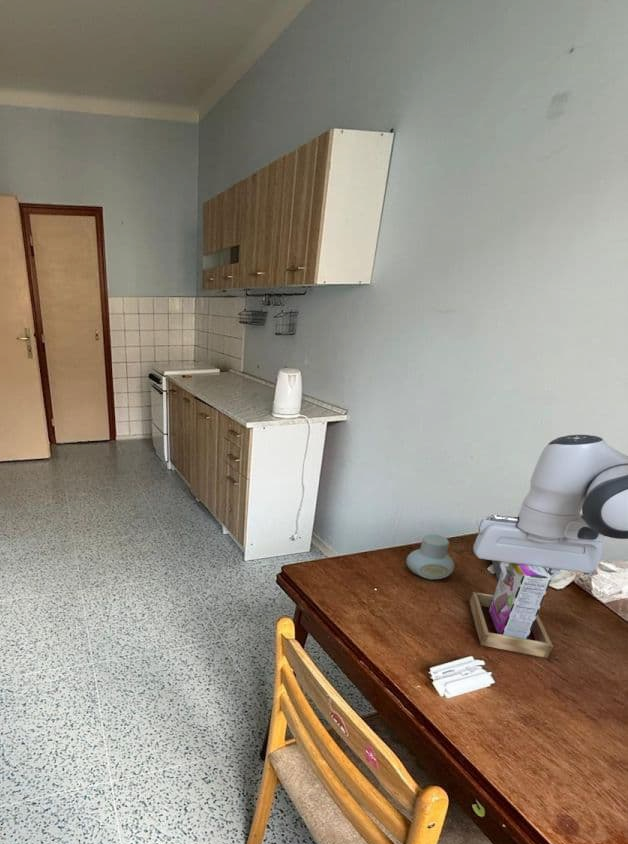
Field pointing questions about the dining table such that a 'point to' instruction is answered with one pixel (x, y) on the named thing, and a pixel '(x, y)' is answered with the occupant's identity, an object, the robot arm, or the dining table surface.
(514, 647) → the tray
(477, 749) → the dining table surface
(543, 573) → the candy bar box
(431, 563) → the air freshener
